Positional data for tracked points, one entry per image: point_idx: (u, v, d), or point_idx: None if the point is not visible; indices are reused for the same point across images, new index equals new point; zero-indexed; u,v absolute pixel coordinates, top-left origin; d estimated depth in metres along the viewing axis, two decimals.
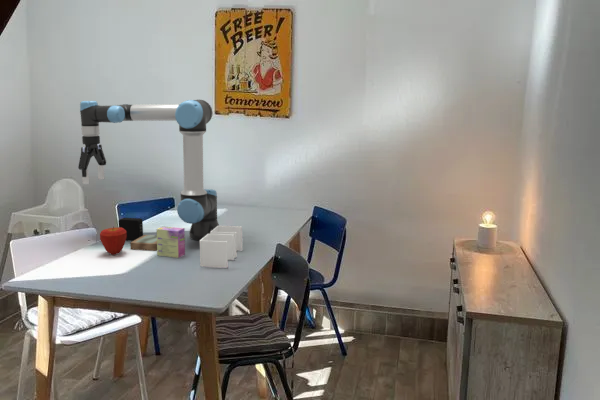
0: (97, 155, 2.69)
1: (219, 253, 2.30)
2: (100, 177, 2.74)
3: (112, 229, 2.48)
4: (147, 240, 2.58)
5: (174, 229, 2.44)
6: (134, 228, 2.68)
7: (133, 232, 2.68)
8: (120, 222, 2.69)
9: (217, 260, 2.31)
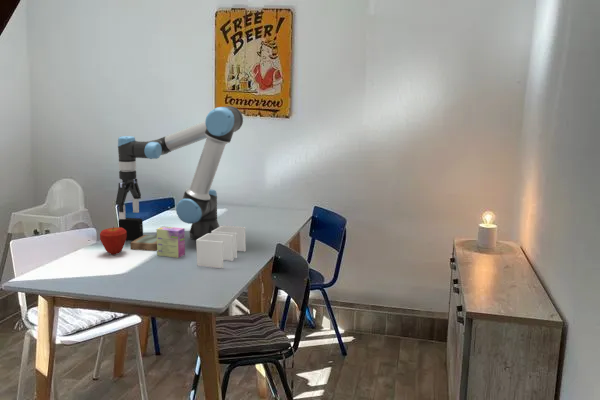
0: (133, 189, 2.70)
1: (215, 253, 2.30)
2: (135, 210, 2.76)
3: (112, 229, 2.48)
4: (147, 240, 2.58)
5: (174, 229, 2.44)
6: (134, 228, 2.68)
7: (133, 232, 2.68)
8: (120, 222, 2.69)
9: (213, 260, 2.31)
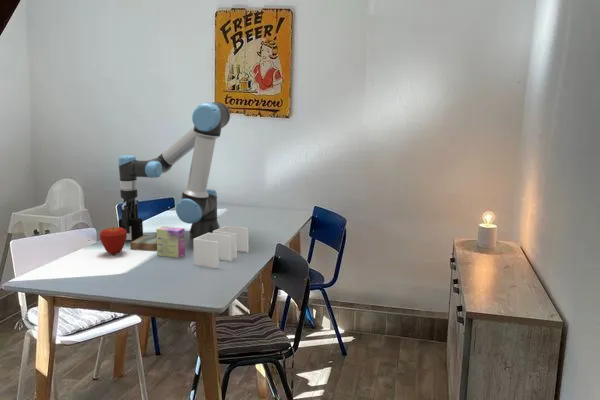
0: (133, 210, 2.70)
1: (210, 253, 2.30)
2: None
3: (112, 229, 2.48)
4: (147, 240, 2.58)
5: (174, 229, 2.44)
6: (134, 228, 2.68)
7: (133, 232, 2.68)
8: (120, 222, 2.69)
9: (208, 259, 2.31)
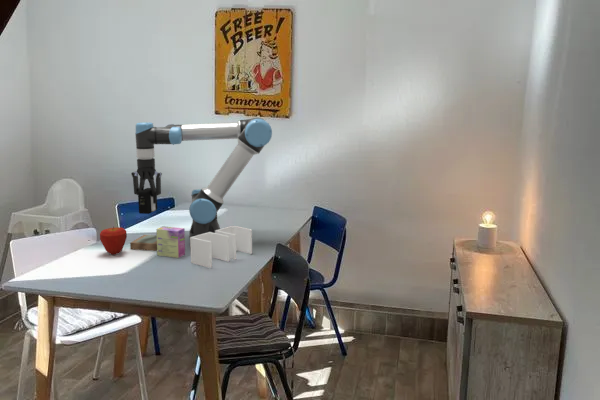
0: None
1: (204, 252, 2.31)
2: None
3: (112, 229, 2.48)
4: (147, 240, 2.58)
5: (174, 229, 2.44)
6: None
7: None
8: None
9: (203, 259, 2.32)
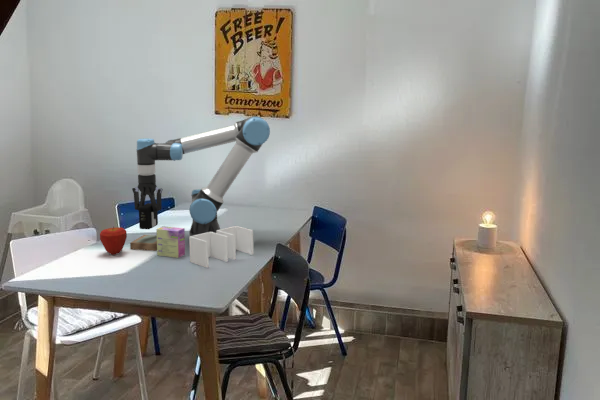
0: None
1: (201, 252, 2.32)
2: None
3: (112, 229, 2.48)
4: (147, 240, 2.58)
5: (174, 229, 2.44)
6: None
7: None
8: None
9: (200, 258, 2.33)
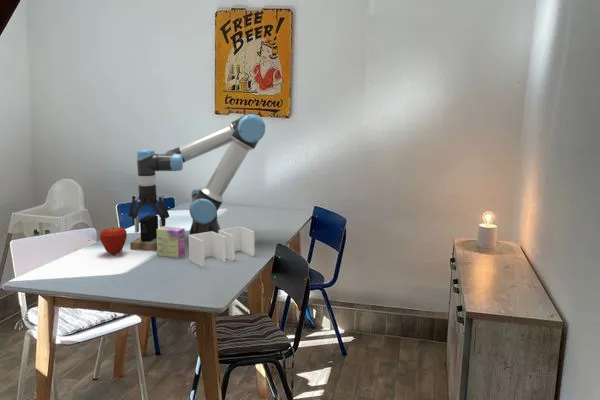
0: None
1: (198, 251, 2.33)
2: None
3: (112, 229, 2.48)
4: None
5: (174, 229, 2.44)
6: None
7: None
8: None
9: (197, 257, 2.34)
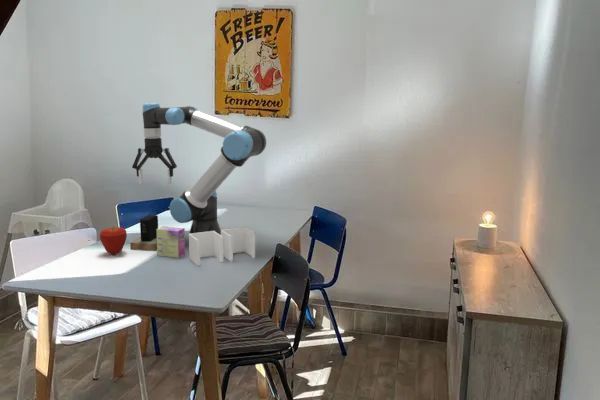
0: None
1: (194, 250, 2.35)
2: None
3: (112, 229, 2.48)
4: None
5: (174, 229, 2.44)
6: None
7: None
8: None
9: (194, 256, 2.36)
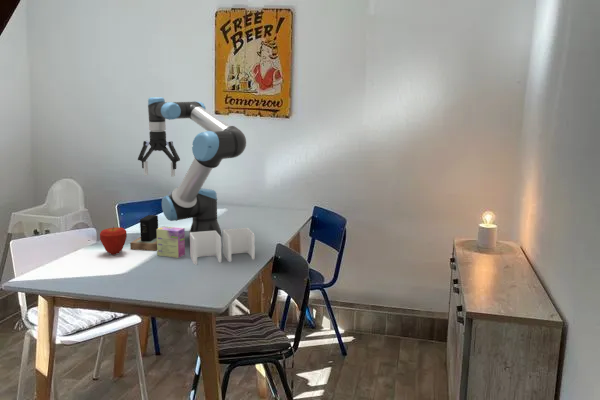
0: None
1: (192, 248, 2.36)
2: None
3: (112, 229, 2.49)
4: None
5: (174, 229, 2.44)
6: None
7: None
8: None
9: (192, 255, 2.38)
